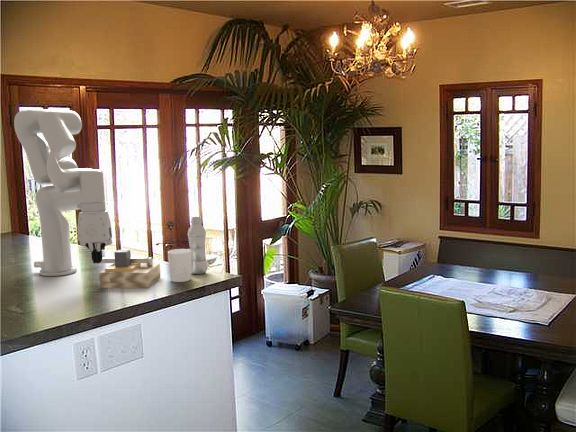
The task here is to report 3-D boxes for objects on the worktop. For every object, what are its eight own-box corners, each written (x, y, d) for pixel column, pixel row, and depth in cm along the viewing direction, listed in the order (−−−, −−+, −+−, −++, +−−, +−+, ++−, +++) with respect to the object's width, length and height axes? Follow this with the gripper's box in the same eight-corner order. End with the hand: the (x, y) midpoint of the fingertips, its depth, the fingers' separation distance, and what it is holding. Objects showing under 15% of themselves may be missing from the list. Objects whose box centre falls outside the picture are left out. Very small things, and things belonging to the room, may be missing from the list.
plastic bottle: (195, 276, 214) (193, 219, 211) (185, 273, 219) (183, 217, 216) (211, 273, 218) (209, 217, 215) (201, 270, 223) (199, 215, 220)
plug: (105, 280, 202) (104, 253, 201) (115, 274, 211) (114, 248, 210) (132, 280, 202) (131, 253, 200) (141, 274, 210) (139, 248, 209)
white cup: (189, 276, 215) (188, 248, 214) (194, 281, 208) (193, 252, 206) (167, 278, 212) (165, 250, 211) (171, 283, 205) (170, 254, 204)
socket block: (99, 287, 201) (99, 272, 201) (115, 277, 215) (114, 263, 214) (147, 287, 200) (147, 272, 199) (160, 277, 214) (159, 263, 213)
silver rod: (91, 266, 209) (90, 258, 209) (93, 264, 211) (93, 257, 211) (151, 266, 207) (151, 258, 207) (153, 264, 209) (153, 257, 209)
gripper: (66, 209, 198) (70, 265, 201) (111, 208, 197) (115, 264, 199) (76, 206, 206) (80, 260, 208) (119, 205, 204) (123, 260, 207)
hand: (97, 262), depth 204 cm, fingers closed
